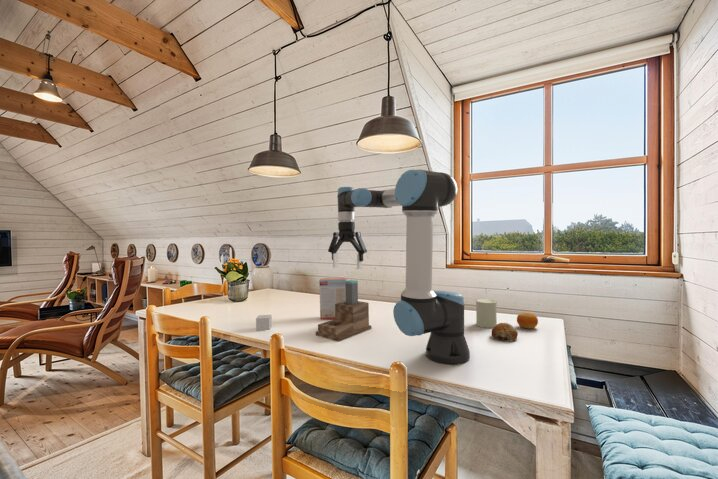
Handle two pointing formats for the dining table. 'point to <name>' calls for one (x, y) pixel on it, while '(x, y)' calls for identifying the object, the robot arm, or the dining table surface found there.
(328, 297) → the cracker box
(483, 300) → the can
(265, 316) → the gray cube
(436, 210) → the robot arm
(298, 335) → the dining table surface
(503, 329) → the bread roll
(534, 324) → the fruit
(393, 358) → the dining table surface
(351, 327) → the wooden desk organizer
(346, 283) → the plug
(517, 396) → the dining table surface
